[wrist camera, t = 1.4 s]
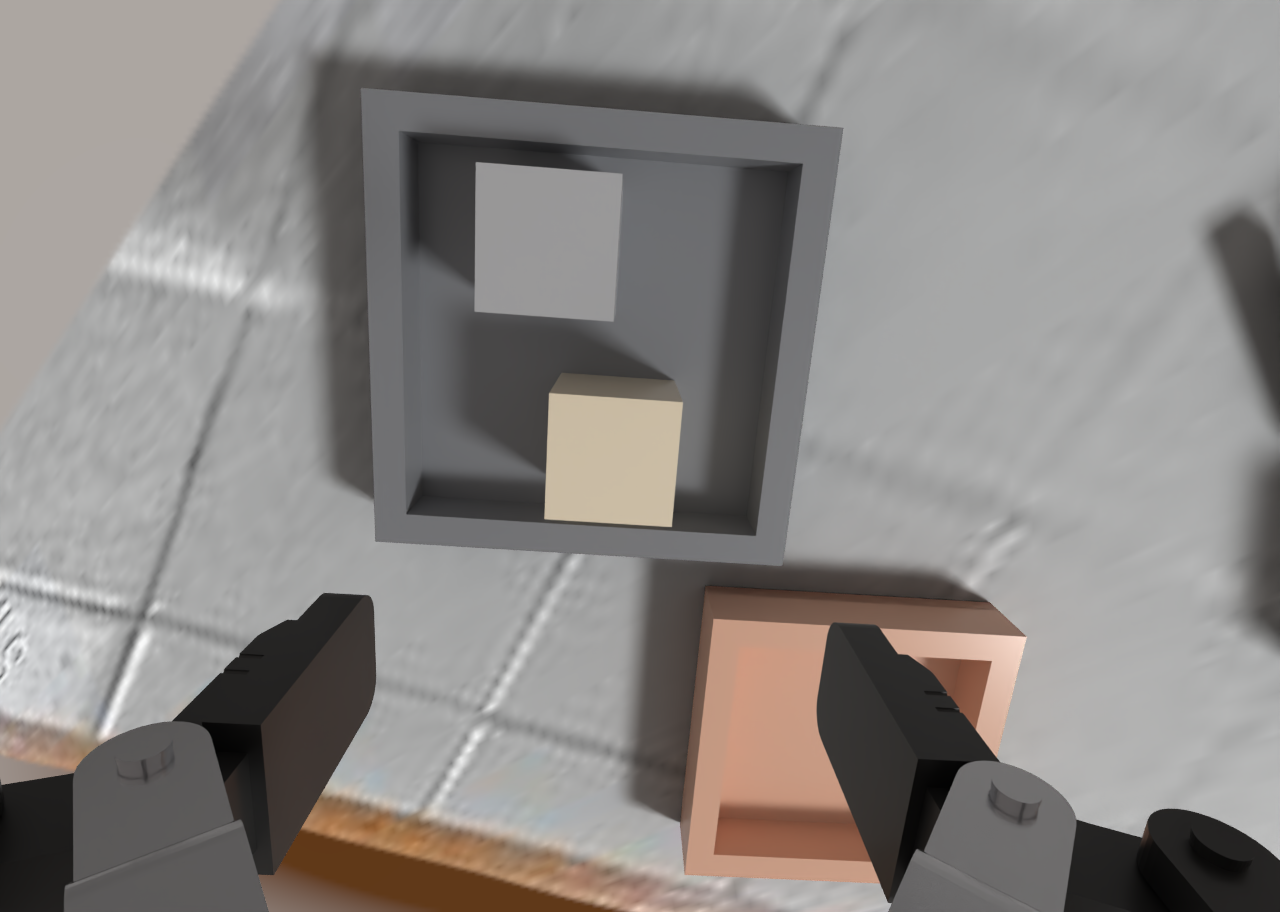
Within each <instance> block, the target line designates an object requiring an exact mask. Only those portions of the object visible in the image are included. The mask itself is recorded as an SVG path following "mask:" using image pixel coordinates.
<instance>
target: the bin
mask: <svg viewBox="0 0 1280 912" xmlns="http://www.w3.org/2000/svg"><path fill="white" fill-rule="evenodd" d="M361 112H362V143H363V173H364V204H365V235H366V266H367V296H368V327H369V358H370V389H371V419H372V450H373V481H374V512H375V541H376V542H393V543H409V544H426V545H442V546H459V547H475V548H492V549H509V550H525V551H542V552H558V553H575V554H592V555H608V556H625V557H641V558H658V559H674V560H691V561H708V562H724V563H741V564H757V565H774V566H782V565H783V558H784V551H785V544H786V537H787V529H788V522H789V515H790V508H791V501H792V493H793V486H794V479H795V472H796V465H797V457H798V450H799V443H800V436H801V429H802V422H803V414H804V407H805V400H806V393H807V386H808V378H809V371H810V364H811V357H812V350H813V342H814V335H815V328H816V321H817V314H818V306H819V299H820V292H821V285H822V278H823V270H824V263H825V256H826V249H827V242H828V234H829V227H830V220H831V213H832V206H833V198H834V191H835V184H836V177H837V170H838V162H839V155H840V148H841V141H842V134H843V128H839V127H827V126H815V125H803V124H791V123H779V122H767V121H755V120H743V119H731V118H719V117H707V116H695V115H683V114H671V113H659V112H647V111H635V110H623V109H611V108H599V107H587V106H575V105H563V104H550V103H538V102H526V101H514V100H502V99H490V98H478V97H466V96H454V95H442V94H430V93H418V92H406V91H394V90H382V89H370V88H361ZM476 162H482V163H494V164H507V165H519V166H532V167H544V168H557V169H569V170H582V171H594V172H607V173H619V174H623V188H624V190H623V206H622V222H621V238H620V254H619V270H618V287H617V303H616V314H615V318H614V322H611V321H597V320H583V319H569V318H556V317H542V316H528V315H514V314H500V313H486V312H475V191H476ZM561 373H573V374H588V375H602V376H617V377H631V378H645V379H660V380H674V381H675V383H676V386H677V388H678V391H679V393H680V396H681V398H682V401H683V408H682V419H681V430H680V442H679V453H678V464H677V475H676V486H675V497H674V508H673V519H672V527H662V526H646V525H630V524H614V523H598V522H582V521H565V520H549V519H544V516H545V489H546V463H547V436H548V410H549V393H550V391H551V389H552V388H553V386H554V384H555V383H556V381H557V379H558V378H559V376H560V375H561Z"/></svg>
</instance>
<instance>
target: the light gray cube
mask: <svg viewBox="0 0 1280 912" xmlns="http://www.w3.org/2000/svg"><path fill="white" fill-rule="evenodd" d="M623 190H624V188H623V174H619V173H607V172H594V171H582V170H569V169H557V168H544V167H532V166H519V165H507V164H494V163H482V162H476V191H475V312H486V313H500V314H514V315H528V316H542V317H556V318H569V319H583V320H597V321H611V322H614V318H615V314H616V303H617V287H618V270H619V254H620V238H621V222H622V206H623Z"/></svg>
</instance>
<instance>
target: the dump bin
mask: <svg viewBox="0 0 1280 912" xmlns="http://www.w3.org/2000/svg"><path fill="white" fill-rule="evenodd" d="M834 622H838V623H856V624H874V625H877V626H878V627H879V628H880V629H881V631H882V632H883V634H884V635H885V636H886V638H887V639H888V641H889V642H890V644H891V645H892V646H893V648H894V649H895V651H896V652H897V654H906V655H909V656H910V657H912V658H913V659H915V660H916V661H917V662H919V663H920V664H922V665H923V666H924V667H926V668H927V669H928V670H930V671H931V672H932V673H933V674H934V675H935V676H936V678H937V679H938V680H939V682H940V683H941V684H942V686H943V687H944V688H945V690H946V691H947V696H951V698H952V699H953V700H954V702H955V703H956V704H957V706H958V707H959V708H960V709H959V710H960V713H963V714H964V715H965V716H966V718H967V719H968V720H969V722H970V723H971V724H972V726H973V727H974V728H975V730H976V731H977V732H978V734H979V735H980V736H981V738H982V739H983V740H984V742H985V743H986V744H987V746H988V747H989V748H990V749H991V751H992V752H993V753H994V755H995V756H996V757H997V754H998V750H999V746H1000V742H1001V738H1002V734H1003V730H1004V726H1005V722H1006V718H1007V714H1008V710H1009V706H1010V702H1011V698H1012V694H1013V690H1014V686H1015V682H1016V678H1017V674H1018V670H1019V666H1020V662H1021V658H1022V654H1023V650H1024V646H1025V642H1026V638H1027V637H1026V636H1025V635H1024V634H1023V633H1022V632H1021V631H1020V630H1019V629H1018V628H1017V627H1016V626H1015V625H1013V624H1012V623H1011V622H1010V621H1009V620H1008V619H1007V618H1006V617H1005V616H1004V615H1003V614H1002V613H1001V612H1000V611H998V610H997V609H996V608H995V607H994V606H993V605H992V604H991V603H990V602H974V601H957V600H940V599H923V598H906V597H889V596H872V595H856V594H839V593H822V592H805V591H788V590H771V589H754V588H737V587H720V586H705V596H704V605H703V614H702V624H701V633H700V642H699V652H698V661H697V670H696V679H695V689H694V698H693V707H692V717H691V726H690V735H689V745H688V754H687V763H686V773H685V782H684V791H683V801H682V810H681V819H680V828H681V839H682V850H683V860H684V871H685V875H701V876H724V877H747V878H769V879H792V880H815V881H837V882H860V883H880V882H879V879H878V877H877V874H876V872H875V870H874V867H873V865H872V862H871V860H870V857H869V855H868V853H867V850H866V848H865V845H864V843H863V840H862V838H861V835H860V833H859V831H858V828H857V826H856V823H855V821H854V818H853V816H852V814H851V811H850V809H849V806H848V804H847V801H846V799H845V796H844V794H843V792H842V789H841V787H840V784H839V782H838V779H837V777H836V775H835V772H834V770H833V767H832V765H831V762H830V760H829V757H828V755H827V753H826V750H825V748H824V745H823V743H822V740H821V738H820V735H819V731H818V725H817V712H816V709H817V697H818V690H819V684H820V678H821V671H822V665H823V659H824V652H825V646H826V640H827V634H828V630H829V628H830V626H831V624H832V623H834Z"/></svg>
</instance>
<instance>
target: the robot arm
mask: <svg viewBox="0 0 1280 912" xmlns="http://www.w3.org/2000/svg"><path fill="white" fill-rule="evenodd" d="M375 685H376V657H375V628H374V606H373V602H372V599H371V597H370V596H368V595H353V594H335V593H324V594H322V595H321V596H319V598H318V599H317V600H316V601H315V602H314V603H313V604H312V605H311V606H310V607H309V608H308V609H307V610H306V611H305V612H304V614H303V615H302V616H301V617H300V618H299V619H298V620H286V621H284V622H282V623H280V624H278V625H276V626H275V627H273V628H271V629H269V630H267V631H265V632H263V633H261V634H260V635H258V636H257V637H256V638H255V639H254V640H253V641H252V642H251V643H250V644H249V645H248V646H247V647H246V648H245V649H244V650H243V651H242V652H241V653H240V656H239V658H238V657H236V658H235V659H234V660H233V661H232V662H231V663H230V664H229V665H228V666H227V667H226V668H225V669H224V673H220V674H219V675H218V676H217V677H216V678H215V679H214V680H213V681H212V682H211V683H210V684H209V685H208V686H207V687H206V688H205V689H204V690H203V691H202V692H201V693H200V694H199V695H198V696H197V697H196V698H195V699H194V700H193V701H192V702H191V703H190V704H189V705H188V706H187V707H186V708H185V709H184V710H183V711H182V712H181V713H180V714H179V715H178V716H177V717H176V718H175V719H174V720H173V721H172V722H161V723H155V724H150V725H146V726H142V727H139V728H136V729H133V730H130V731H127V732H125V733H122V734H120V735H118V736H116V737H114V738H112V739H110V740H108V741H106V742H105V743H103V744H101V745H100V746H98V747H97V748H95V749H94V750H93V751H91V752H90V753H89V754H88V755H87V756H86V757H85V758H84V759H83V760H82V761H81V762H80V764H79V765H78V766H77V768H76V770H75V772H74V773H72V774H67V775H61V776H55V777H48V778H42V779H37V780H30V781H24V782H17V783H11V784H5V785H1V782H0V912H269V911H268V908H267V904H266V901H265V897H264V894H263V891H262V887H261V884H260V880H259V877H258V874H261V875H274V874H275V872H276V870H277V868H278V867H279V865H280V863H281V862H282V860H283V858H284V856H285V855H286V853H287V851H288V850H289V848H290V846H291V845H292V843H293V841H294V839H295V838H296V836H297V834H298V833H299V831H300V829H301V827H302V826H303V824H304V822H305V821H306V819H307V817H308V815H309V814H310V812H311V810H312V808H313V807H314V805H315V803H316V802H317V800H318V798H319V796H320V795H321V793H322V791H323V790H324V788H325V786H326V784H327V783H328V781H329V779H330V778H331V776H332V774H333V772H334V771H335V769H336V767H337V766H338V764H339V762H340V760H341V759H342V757H343V755H344V754H345V752H346V750H347V748H348V747H349V745H350V743H351V742H352V740H353V738H354V736H355V735H356V733H357V731H358V730H359V728H360V726H361V724H362V723H363V721H364V719H365V717H366V716H367V714H368V712H369V709H370V707H371V704H372V700H373V696H374V692H375ZM959 709H960V708H959V707H958V706H957V704H956V703H955V702H954V700H953V699H952V698H951V696H947V691H946V690H945V688H944V687H943V686H942V684H941V683H940V682H939V680H938V679H937V678H936V676H935V675H934V674H933V673H932V672H931V671H930V670H928V669H927V668H926V667H924V666H923V665H922V664H920V663H919V662H917V661H916V660H915V659H913V658H912V657H910V656H909V655H906V654H897V652H896V651H895V649H894V648H893V646H892V645H891V644H890V642H889V641H888V639H887V638H886V636H885V635H884V634H883V632H882V631H881V629H880V628H879V627H878V626H877V625H874V624H856V623H838V622H834V623H832V624H831V626H830V628H829V630H828V634H827V640H826V646H825V652H824V659H823V665H822V671H821V678H820V684H819V690H818V697H817V709H816V712H817V725H818V731H819V735H820V738H821V740H822V743H823V745H824V748H825V750H826V753H827V755H828V757H829V760H830V762H831V765H832V767H833V770H834V772H835V775H836V777H837V779H838V782H839V784H840V787H841V789H842V792H843V794H844V796H845V799H846V801H847V804H848V806H849V809H850V811H851V814H852V816H853V818H854V821H855V823H856V826H857V828H858V831H859V833H860V835H861V838H862V840H863V843H864V845H865V848H866V850H867V853H868V855H869V857H870V860H871V862H872V865H873V867H874V870H875V872H876V874H877V877H878V879H879V882H880V884H881V887H882V889H883V892H884V894H885V896H886V899H887V901H888V903H892V904H891V907H890V909H889V911H888V912H1280V860H1279V859H1278V858H1276V857H1275V856H1274V855H1273V854H1272V853H1271V852H1270V851H1269V850H1267V849H1266V848H1265V847H1263V846H1262V845H1261V844H1259V843H1258V842H1257V841H1255V840H1254V839H1252V838H1251V837H1249V836H1247V835H1246V834H1244V833H1242V832H1241V831H1239V830H1237V829H1235V828H1233V827H1231V826H1229V825H1227V824H1225V823H1223V822H1221V821H1218V820H1216V819H1213V818H1211V817H1208V816H1205V815H1202V814H1199V813H1196V812H1191V811H1187V810H1181V809H1162V810H1158V811H1156V812H1154V813H1153V814H1151V815H1150V817H1149V819H1148V821H1147V824H1146V827H1145V831H1144V834H1143V837H1142V838H1141V837H1137V836H1133V835H1130V834H1126V833H1122V832H1119V831H1115V830H1111V829H1108V828H1104V827H1100V826H1096V825H1093V824H1089V823H1086V822H1083V821H1079V820H1076V816H1075V813H1074V811H1073V809H1072V807H1071V806H1070V804H1069V803H1068V802H1067V800H1066V799H1065V798H1064V797H1063V796H1062V795H1061V794H1060V793H1059V792H1058V791H1057V790H1056V789H1054V788H1053V787H1052V786H1051V785H1049V784H1048V783H1046V782H1045V781H1043V780H1042V779H1040V778H1039V777H1037V776H1035V775H1033V774H1031V773H1029V772H1027V771H1025V770H1023V769H1020V768H1017V767H1015V766H1012V765H1008V764H1005V763H1000V761H999V760H998V759H997V757H996V756H995V755H994V753H993V752H992V751H991V749H990V748H989V747H988V746H987V744H986V743H985V742H984V740H983V739H982V738H981V736H980V735H979V734H978V732H977V731H976V730H975V728H974V727H973V726H972V724H971V723H970V722H969V720H968V719H967V718H966V716H965V715H964V714H963V713H960V710H959Z"/></svg>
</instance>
